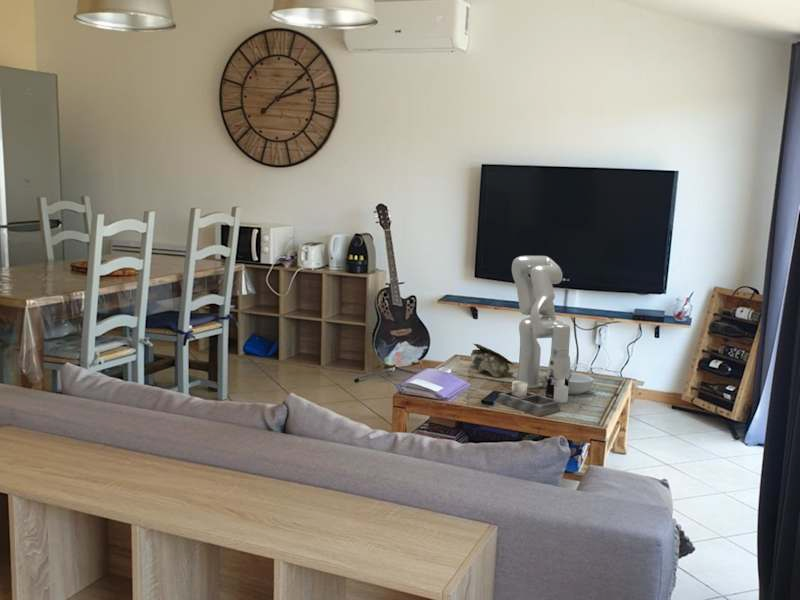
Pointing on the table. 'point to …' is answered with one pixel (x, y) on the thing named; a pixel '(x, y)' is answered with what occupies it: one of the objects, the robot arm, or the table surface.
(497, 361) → the hollow geode rock
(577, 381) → the cereal bowl
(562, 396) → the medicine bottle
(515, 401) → the rail rack
